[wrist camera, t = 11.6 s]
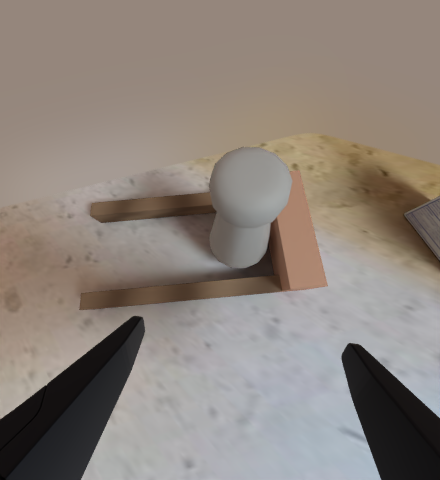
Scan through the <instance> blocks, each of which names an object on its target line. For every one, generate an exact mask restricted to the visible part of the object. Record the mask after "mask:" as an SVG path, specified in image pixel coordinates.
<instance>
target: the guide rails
mask: <svg viewBox="0 0 440 480" xmlns="http://www.w3.org/2000/svg"><path fill="white" fill-rule="evenodd" d="M215 212H217V211H216V210H215V209H214V208H213V205H212V201H211V195H210V192H209V193H198V194H187V195H176V196H165V197H154V198H143V199H132V200H121V201H110V202H99V203H92V206H91V215H90V216H92V217H93V218H95V219H96V220H98V221H99V222H101V223H106V222H117V221H128V220H139V219H150V218H161V217H172V216H183V215H193V214H204V213H215ZM281 291H282V287H281V281H280V276H279V275H273V276H262V277H251V278H240V279H230V280H219V281H208V282H197V283H186V284H175V285H165V286H154V287H143V288H132V289H121V290H110V291H99V292H89V293H81V301H80V309H79V310H87V309H101V308H111V307H122V306H133V305H144V304H155V303H166V302H176V301H187V300H198V299H209V298H220V297H230V296H241V295H252V294H263V293H274V292H281Z"/></svg>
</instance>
